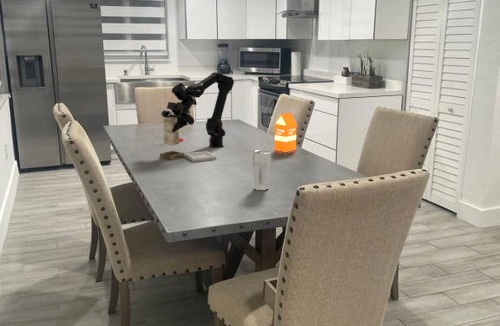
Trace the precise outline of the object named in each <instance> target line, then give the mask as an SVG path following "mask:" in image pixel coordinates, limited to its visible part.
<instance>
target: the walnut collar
mask: <svg viewBox="0 0 500 326" xmlns="http://www.w3.org/2000/svg"><path fill="white" fill-rule="evenodd" d="M159 158H160V159H161V158H162V159H166V160H168V161H169V160H170V161H174V160H178V159H181V158H185V152H181V151H176V150H170V151H164V152H161V153H159Z"/></svg>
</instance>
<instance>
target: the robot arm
mask: <svg viewBox="0 0 500 326" xmlns="http://www.w3.org/2000/svg"><path fill="white" fill-rule="evenodd" d="M214 84H217V88H218V93H217V97H216V101H215V104H214V107H213V108H214V109H213V113H212V116H211V117H210V118H207V119H206V124H205V130H206V132H207V136H209V143H208V146H209V147H211V148H213V149H214V148H217V149H218V148H223V147H225V145H224V143H223V141H224V139H223V138H224V137H225V136H226V131H225V130H224V128H223V122H222V117H223V113H224V109H225V105H226V101H227V98H228V94H229V93H230V92H231V90H232V89H233V87H234V84H235V80H234V78H233V77H232V76H228V75H225V74H223V73H221V72H212V73H211V74H210V75H208V76H207V77H204V78H203V80H202V79H201V81H199V82H197V83H192V84H190V85H188V86H187V87H186V86H185V85H184V83H183V82H182V83H181V82H179V83H178V84H176V85H175V86H174V87H172V88H171V93H172V94H173V95H174V97H176V99H177V100H178V101H177V102H172V101H168V103H167V105H166V109H168V110H163V111H162V112H161V113H160V115H161V116H162V117H163V119H164V118H166V117H176V118H177V123H176V124H175V126H174V128H173V130H172V131H173V132H175V131H177V130H178V129H179V130H180V129H183V127H187V126H188V125H191V126H192V125H194V124H195V118H194V117H193V116H192V115H191V114H190V113H191V111H190V109H191V108H192V106H197V105H198V104H197V99H194V98H201V96H202V95H203V94H204V93H205V91H206V90H207V89H209V87H211V86H212V85H214ZM179 101H180V102H179Z"/></svg>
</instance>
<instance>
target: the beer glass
mask: <svg viewBox="0 0 500 326" xmlns="http://www.w3.org/2000/svg"><path fill="white" fill-rule="evenodd" d="M270 169H271V151H270V150H267V149H257V150H253V151H252V171H253V177H254V178H253V179H254V180H253V181H254V182H253V187H252V188H254V189H256V190H255V191H257V190H266V189H268V188H269V189H270V187H269V175H270ZM254 189H253V190H254ZM269 189H268V190H269ZM266 191H267V190H266Z"/></svg>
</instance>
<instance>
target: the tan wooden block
mask: <svg viewBox="0 0 500 326" xmlns="http://www.w3.org/2000/svg"><path fill="white" fill-rule="evenodd" d="M176 123H177V118H176V117H166V118H164V117H163V140H164V141H163V142H164V145H167V146H175V145H179V143H180V142H179V138H180V137H179V136H180V135H179V133H180V131H179V130H180V129H178V130H177V131H175V132H173V131H172V130H173V128H174V126H175V124H176Z"/></svg>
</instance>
